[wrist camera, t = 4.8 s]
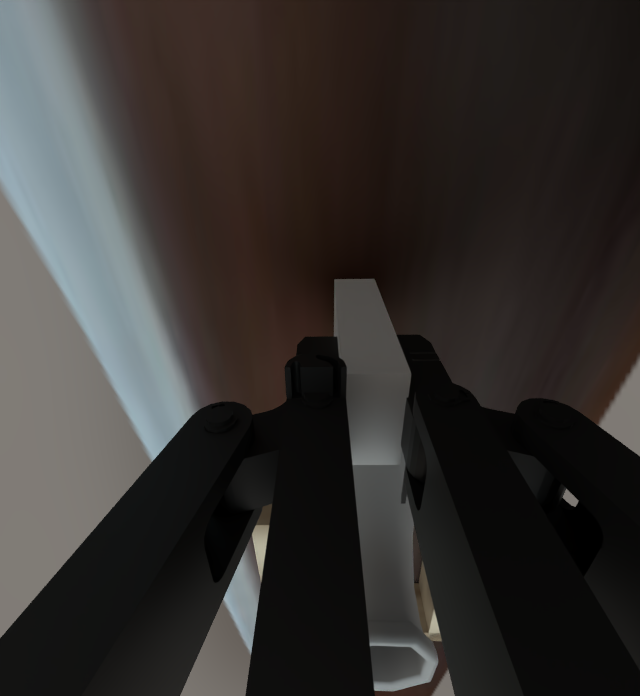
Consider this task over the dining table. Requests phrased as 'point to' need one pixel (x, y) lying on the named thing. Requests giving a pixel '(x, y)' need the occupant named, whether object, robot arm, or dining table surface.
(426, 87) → the dining table surface
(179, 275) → the dining table surface
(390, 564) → the flask
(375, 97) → the dining table surface
